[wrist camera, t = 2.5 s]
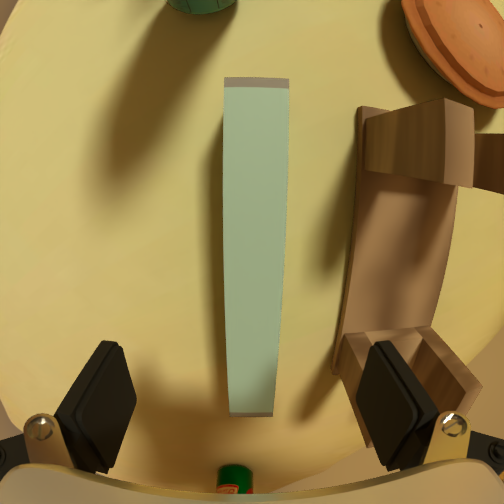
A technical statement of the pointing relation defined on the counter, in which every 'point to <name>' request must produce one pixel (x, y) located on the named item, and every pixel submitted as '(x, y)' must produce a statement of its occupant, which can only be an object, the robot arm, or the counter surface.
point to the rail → (254, 236)
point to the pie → (461, 45)
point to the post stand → (410, 241)
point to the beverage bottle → (200, 5)
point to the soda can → (234, 480)
